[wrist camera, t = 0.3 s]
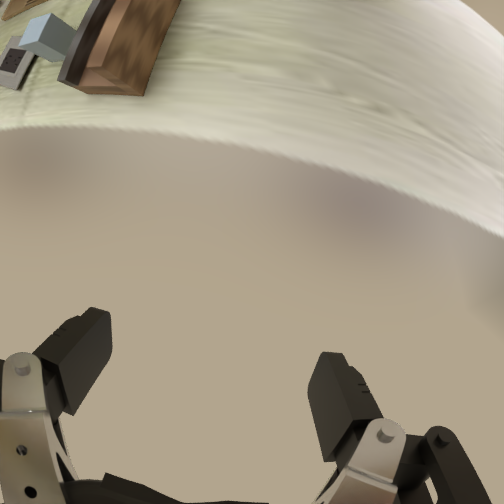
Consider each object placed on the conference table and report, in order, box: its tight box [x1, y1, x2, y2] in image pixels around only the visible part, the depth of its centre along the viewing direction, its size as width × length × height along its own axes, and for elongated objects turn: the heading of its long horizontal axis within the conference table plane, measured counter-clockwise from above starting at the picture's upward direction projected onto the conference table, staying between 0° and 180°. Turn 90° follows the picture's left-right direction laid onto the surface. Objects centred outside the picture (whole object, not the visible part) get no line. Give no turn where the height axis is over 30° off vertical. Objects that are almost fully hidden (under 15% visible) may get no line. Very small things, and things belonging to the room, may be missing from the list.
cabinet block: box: [18, 13, 77, 62], centre depth 24 cm, size 5×6×10 cm
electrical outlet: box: [0, 36, 35, 90], centre depth 27 cm, size 13×10×2 cm
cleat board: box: [57, 0, 181, 96], centre depth 24 cm, size 18×10×13 cm, turn 166°
